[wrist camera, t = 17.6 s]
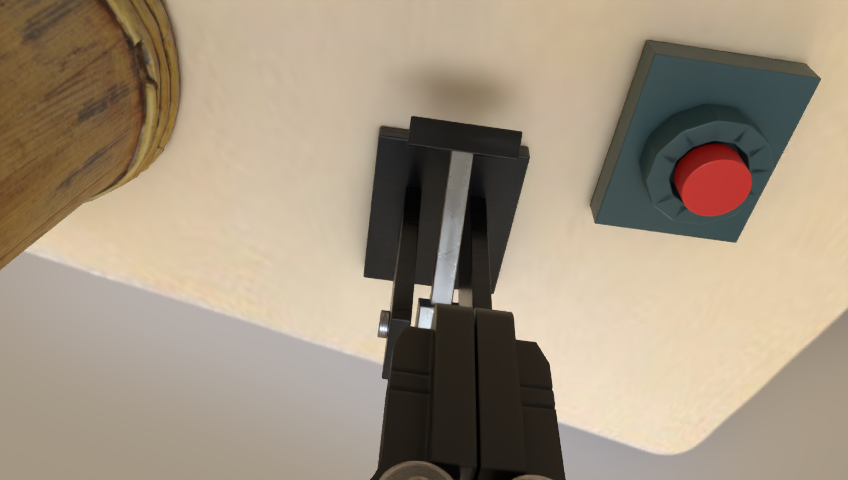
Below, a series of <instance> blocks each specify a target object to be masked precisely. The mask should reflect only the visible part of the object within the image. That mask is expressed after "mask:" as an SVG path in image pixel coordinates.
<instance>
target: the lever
mask: <svg viewBox="0 0 848 480" xmlns="http://www.w3.org/2000/svg"><path fill="white" fill-rule="evenodd" d="M521 138H522V132H521V131H514V130H507V129H500V128H493V127H486V126H479V125H472V124H465V123H458V122H451V121H444V120H437V119H430V118H423V117H416V116H412V117H411V121H410V129H409V136H408V144H407V145H408V146H412V147H419V148H426V149H434V150H441V151H448V152H450V159H449V166H448V173H447V181H446V188H445V195H444V202H443V209H442V216H441V223H440V230H439V237H438V245H437V252H436V259H435V266H434V273H433V280H432V287H431V294H430V299H423V298H419V299H418V307H417V314H416V321H415V327H420V328H427V329H430V328H431V323H432V318H433V313H434V308H435V304H436V303H443V304H451V305H458V306H460V305H459V303H454V302H452V300H453V293H454V286H455V279H456V272H457V265H458V258H459V251H460V244H461V237H462V230H463V223H464V216H465V209H466V202H467V195H468V188H469V182H470V175H471V168H472V161H473V155H476V156H483V157H490V158H497V159H504V160H511V161H514V160H518V158H519V151H520V145H521Z"/></svg>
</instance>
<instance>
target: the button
mask: <svg viewBox="0 0 848 480" xmlns="http://www.w3.org/2000/svg"><path fill="white" fill-rule="evenodd" d="M674 183H675V186H676V188H677V190H678V192H679V195H680V197H681V199H682V201H683V203H684V205H685V206H686V207H687V208H688V209H689V210H690V211H691V212H693V213H695V214H698V215H702V216H717V215H722V214H725V213H727V212H729V211H731V210H733V209H735V208H736V207H738V206H739V205H740V204H741V203H742V202H743V201H744V200H745V199H746V198H747V196H748V194H749V192H750V190H751V186H752V177H751V173H750V171H749V170H748V168H747V167H746V165H745V163H744V162H743V160H742V159H741V157H740V156H739V154H738V153H737V152H736V151H735V150H734V149H733V148H731V147H729V146H727V145H724V144H717V143H713V144H706V145H702V146H699V147H697V148H695V149H693V150H691V151H689V152H688V153H687V154H686V155H685V156H684V157H683V158H682V159H681V160H680V161H679V163H678V164H677V166H676V169H675V172H674Z"/></svg>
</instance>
